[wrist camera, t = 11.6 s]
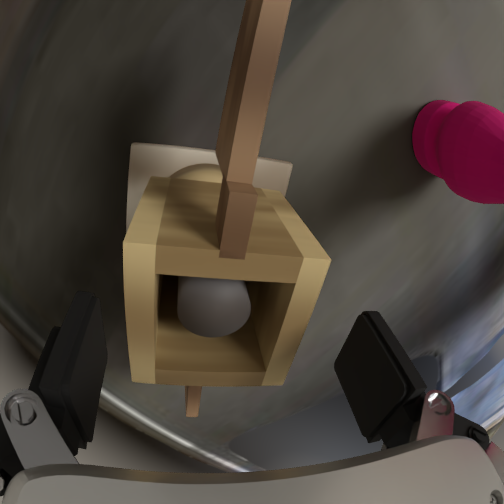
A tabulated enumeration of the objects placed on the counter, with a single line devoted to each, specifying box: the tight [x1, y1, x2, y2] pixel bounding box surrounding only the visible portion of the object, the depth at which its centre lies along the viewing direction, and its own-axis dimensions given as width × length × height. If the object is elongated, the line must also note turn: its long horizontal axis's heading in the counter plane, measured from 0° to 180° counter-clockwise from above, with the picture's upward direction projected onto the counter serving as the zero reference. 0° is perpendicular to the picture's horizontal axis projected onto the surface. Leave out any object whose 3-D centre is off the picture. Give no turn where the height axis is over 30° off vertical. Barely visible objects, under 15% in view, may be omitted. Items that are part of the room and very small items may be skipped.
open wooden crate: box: [123, 0, 331, 386], centre depth 12 cm, size 16×7×7 cm, turn 169°
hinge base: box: [126, 142, 293, 417], centre depth 18 cm, size 16×10×10 cm, turn 169°
